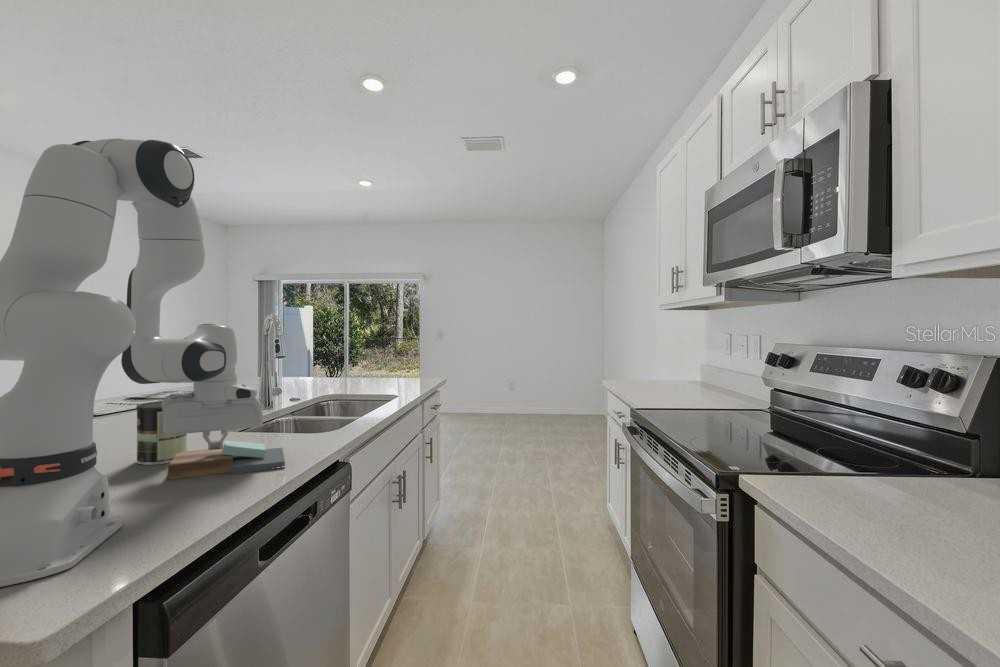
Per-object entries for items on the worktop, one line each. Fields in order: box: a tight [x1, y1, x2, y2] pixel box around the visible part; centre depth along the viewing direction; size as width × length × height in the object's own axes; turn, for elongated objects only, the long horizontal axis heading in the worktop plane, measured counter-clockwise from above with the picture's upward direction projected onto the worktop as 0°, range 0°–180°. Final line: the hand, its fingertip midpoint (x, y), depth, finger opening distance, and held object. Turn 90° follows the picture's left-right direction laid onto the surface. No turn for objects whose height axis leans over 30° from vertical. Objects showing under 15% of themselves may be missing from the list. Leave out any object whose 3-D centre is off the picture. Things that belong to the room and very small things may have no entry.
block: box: [222, 439, 266, 458], centre depth 110 cm, size 6×9×2 cm, turn 119°
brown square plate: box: [167, 448, 234, 480], centre depth 106 cm, size 12×12×3 cm
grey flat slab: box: [230, 447, 286, 475], centre depth 111 cm, size 14×11×2 cm
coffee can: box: [135, 400, 188, 466], centre depth 113 cm, size 10×10×14 cm
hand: (215, 449), depth 108 cm, fingers closed
